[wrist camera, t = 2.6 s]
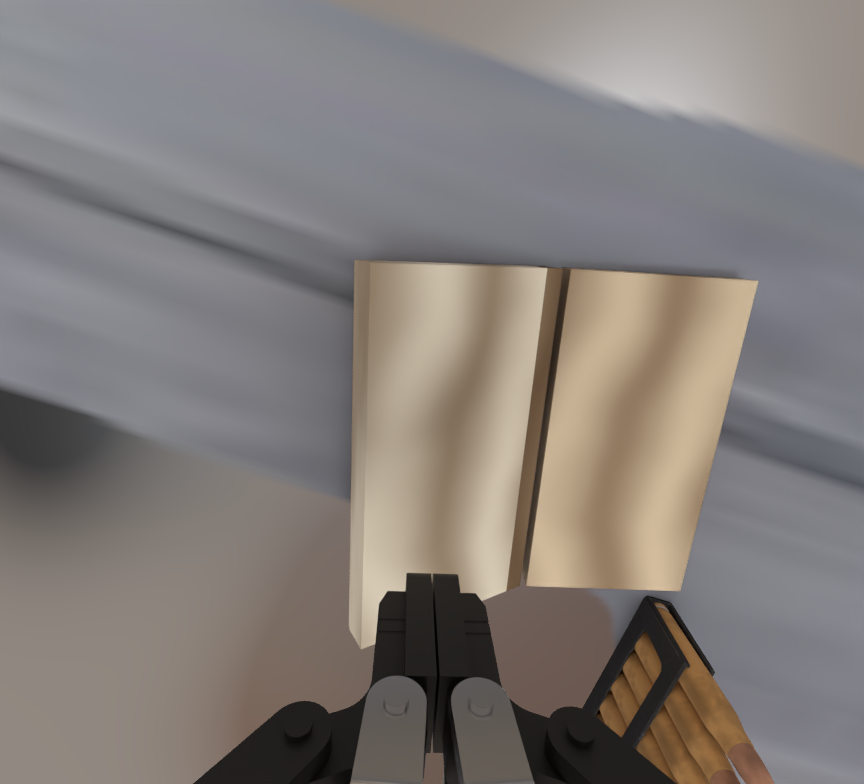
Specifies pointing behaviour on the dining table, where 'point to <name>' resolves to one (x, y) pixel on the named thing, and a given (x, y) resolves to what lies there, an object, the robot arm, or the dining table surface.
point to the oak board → (631, 425)
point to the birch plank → (444, 424)
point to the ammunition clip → (673, 703)
